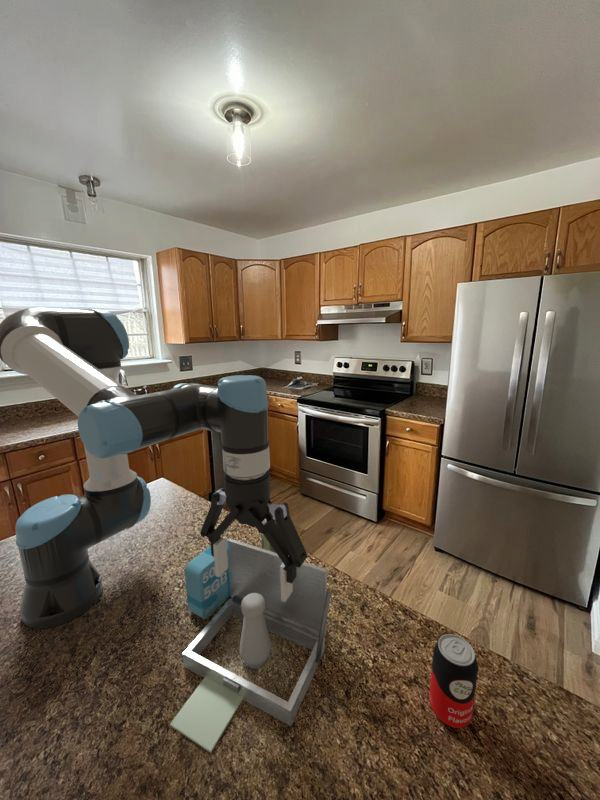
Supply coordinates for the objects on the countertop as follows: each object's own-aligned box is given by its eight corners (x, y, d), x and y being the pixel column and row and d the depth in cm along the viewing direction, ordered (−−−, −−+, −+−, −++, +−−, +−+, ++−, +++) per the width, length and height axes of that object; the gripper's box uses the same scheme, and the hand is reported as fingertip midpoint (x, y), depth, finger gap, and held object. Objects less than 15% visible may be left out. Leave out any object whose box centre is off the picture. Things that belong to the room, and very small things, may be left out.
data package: (202, 623, 71) (198, 573, 68) (188, 613, 73) (183, 565, 71) (240, 586, 81) (238, 541, 78) (226, 579, 83) (223, 535, 81)
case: (181, 669, 61) (173, 588, 58) (233, 606, 75) (229, 538, 71) (295, 733, 52) (294, 641, 48) (331, 647, 65) (332, 570, 62)
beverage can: (421, 709, 55) (427, 648, 52) (438, 681, 59) (444, 623, 56) (462, 743, 50) (470, 678, 48) (477, 710, 54) (485, 648, 52)
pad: (170, 725, 53) (169, 724, 53) (205, 678, 60) (205, 676, 60) (210, 753, 49) (210, 751, 49) (242, 699, 56) (242, 697, 56)
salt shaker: (256, 638, 67) (254, 582, 65) (277, 655, 64) (276, 596, 61) (233, 660, 63) (229, 601, 60) (254, 680, 59) (252, 618, 57)
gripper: (172, 467, 57) (183, 576, 62) (307, 496, 47) (308, 625, 51) (203, 452, 64) (211, 551, 68) (326, 475, 53) (326, 591, 58)
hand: (252, 583), depth 60 cm, fingers open, 13 cm apart
